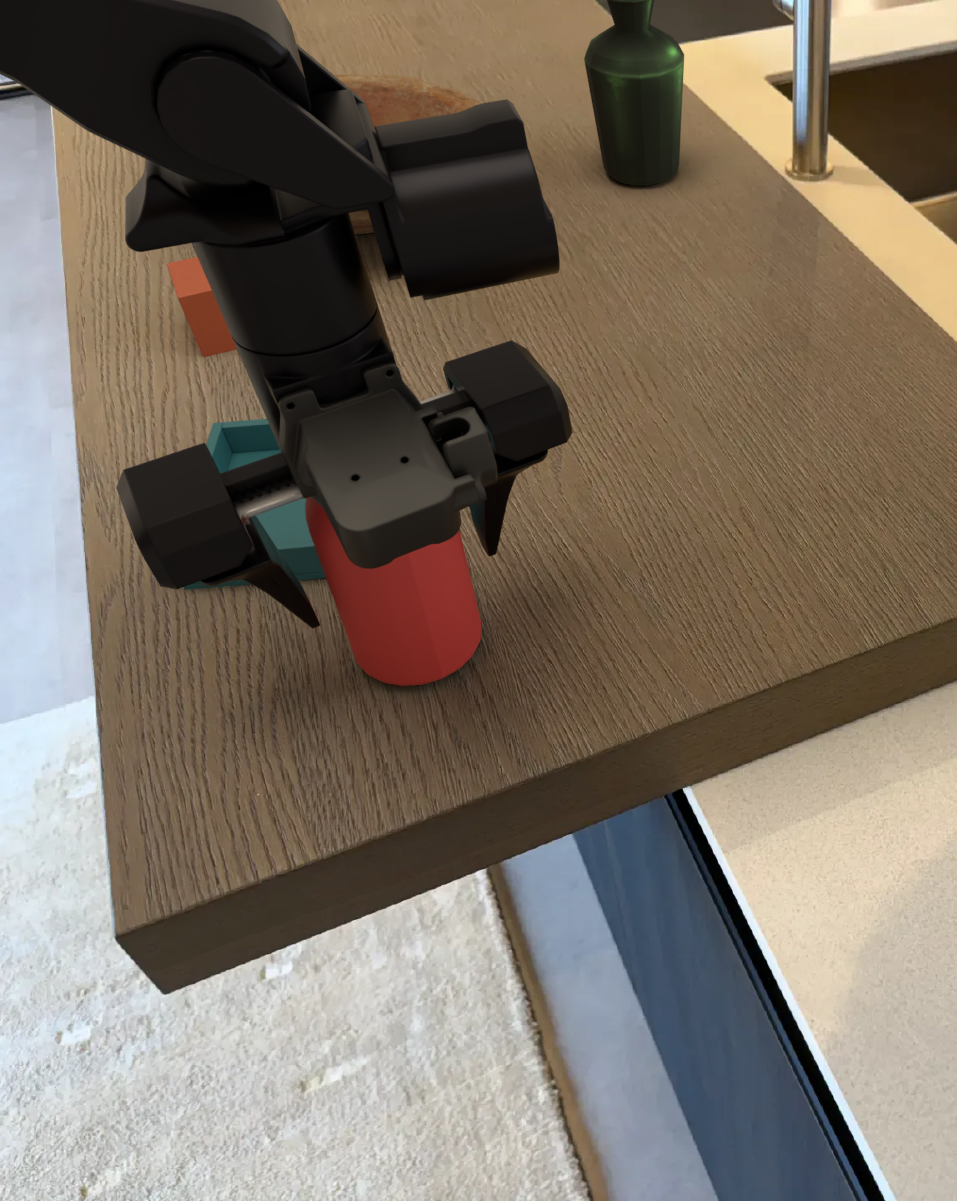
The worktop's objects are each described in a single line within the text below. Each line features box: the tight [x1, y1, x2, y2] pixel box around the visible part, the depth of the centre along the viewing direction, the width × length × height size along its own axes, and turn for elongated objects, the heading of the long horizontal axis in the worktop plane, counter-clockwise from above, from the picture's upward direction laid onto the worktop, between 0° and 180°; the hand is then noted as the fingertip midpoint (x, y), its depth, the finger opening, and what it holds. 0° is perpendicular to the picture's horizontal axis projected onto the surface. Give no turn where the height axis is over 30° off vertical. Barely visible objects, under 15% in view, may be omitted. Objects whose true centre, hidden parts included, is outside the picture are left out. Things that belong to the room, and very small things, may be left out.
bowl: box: [333, 74, 483, 235], centre depth 90 cm, size 24×24×8 cm
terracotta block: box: [166, 256, 238, 358], centre depth 79 cm, size 5×5×5 cm
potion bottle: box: [583, 0, 685, 186], centre depth 92 cm, size 8×8×18 cm
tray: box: [182, 418, 326, 591], centre depth 67 cm, size 12×12×2 cm
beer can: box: [305, 494, 483, 687], centre depth 56 cm, size 7×7×12 cm
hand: (404, 585), depth 57 cm, fingers open, 9 cm apart
